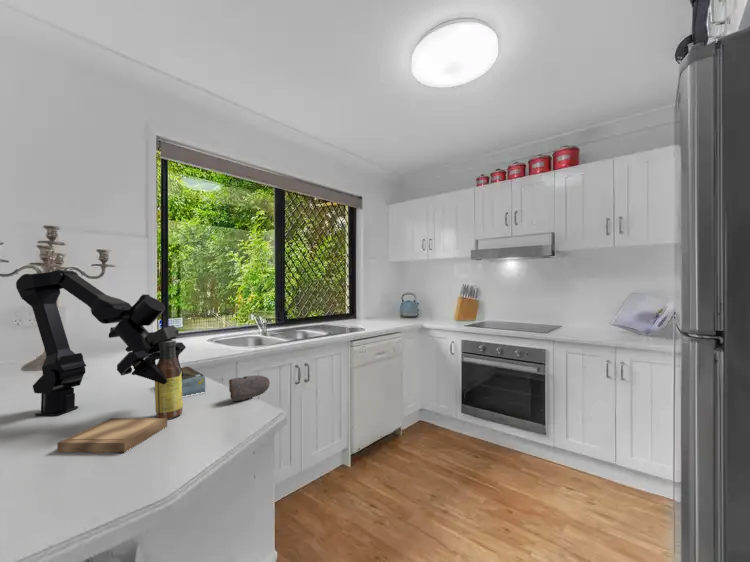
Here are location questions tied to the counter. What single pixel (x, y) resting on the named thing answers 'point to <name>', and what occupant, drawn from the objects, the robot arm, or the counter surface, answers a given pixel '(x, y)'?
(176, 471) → the counter surface
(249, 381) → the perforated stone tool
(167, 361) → the sauce bottle
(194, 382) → the beverage carton
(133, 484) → the counter surface
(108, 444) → the podium
